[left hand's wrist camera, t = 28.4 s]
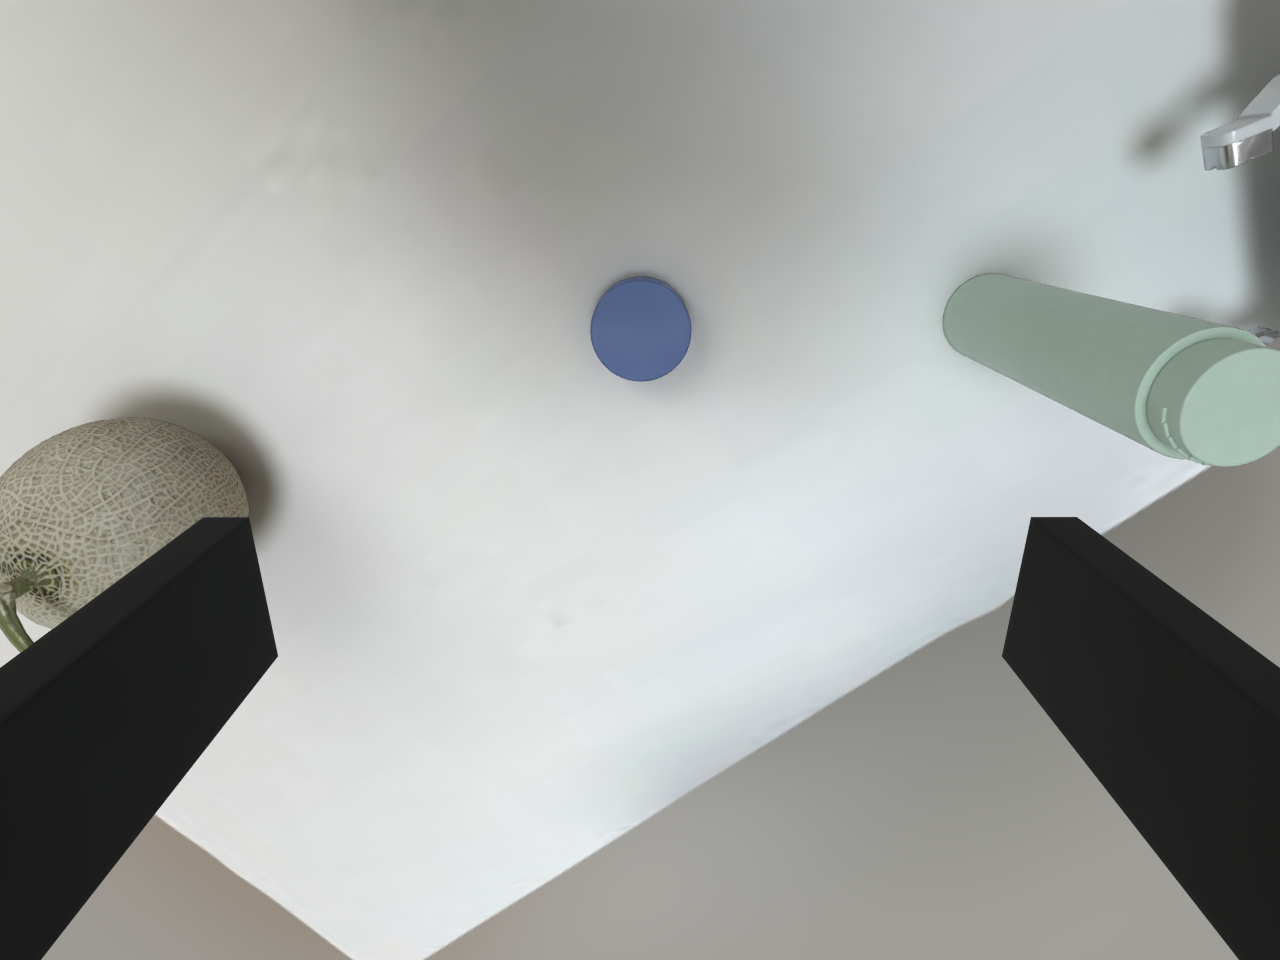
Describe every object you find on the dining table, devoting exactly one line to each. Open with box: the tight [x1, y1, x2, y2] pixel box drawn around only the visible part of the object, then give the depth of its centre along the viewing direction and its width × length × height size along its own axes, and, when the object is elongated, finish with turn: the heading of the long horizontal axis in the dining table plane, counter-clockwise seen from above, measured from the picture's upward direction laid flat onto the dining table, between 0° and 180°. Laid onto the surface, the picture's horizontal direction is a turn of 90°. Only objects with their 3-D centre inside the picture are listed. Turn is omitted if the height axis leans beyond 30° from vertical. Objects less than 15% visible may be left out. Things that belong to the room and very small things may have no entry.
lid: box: [591, 277, 691, 381], centre depth 39 cm, size 5×5×2 cm
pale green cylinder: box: [943, 274, 1280, 467], centre depth 31 cm, size 4×4×18 cm
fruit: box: [0, 417, 249, 653], centre depth 36 cm, size 10×12×15 cm
